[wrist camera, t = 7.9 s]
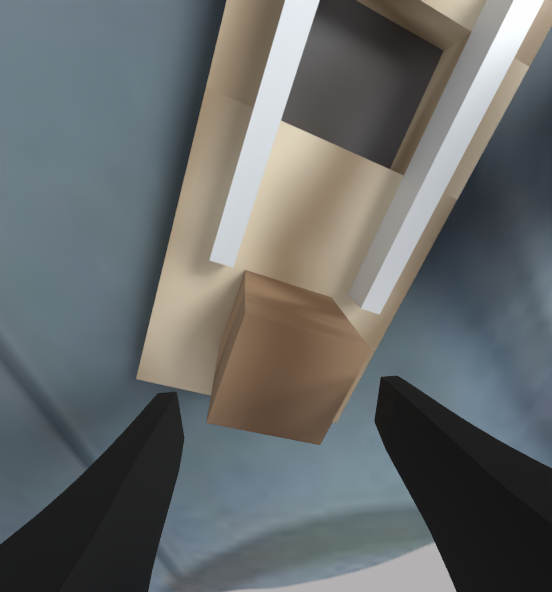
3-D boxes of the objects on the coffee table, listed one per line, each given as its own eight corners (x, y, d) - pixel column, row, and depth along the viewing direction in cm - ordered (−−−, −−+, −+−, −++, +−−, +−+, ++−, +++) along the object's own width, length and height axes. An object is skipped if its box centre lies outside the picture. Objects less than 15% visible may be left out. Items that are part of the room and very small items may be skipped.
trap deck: (522, 20, 13) (569, -7, 11) (327, 400, 20) (336, 422, 18) (272, -142, 10) (278, -214, 8) (148, 358, 17) (135, 379, 15)
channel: (514, -2, 11) (563, -36, 9) (364, 300, 15) (379, 314, 13) (325, -129, 9) (343, -198, 7) (213, 250, 13) (209, 260, 11)
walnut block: (331, 297, 15) (371, 349, 10) (298, 370, 16) (320, 445, 11) (245, 269, 14) (244, 313, 9) (218, 349, 15) (206, 423, 10)
